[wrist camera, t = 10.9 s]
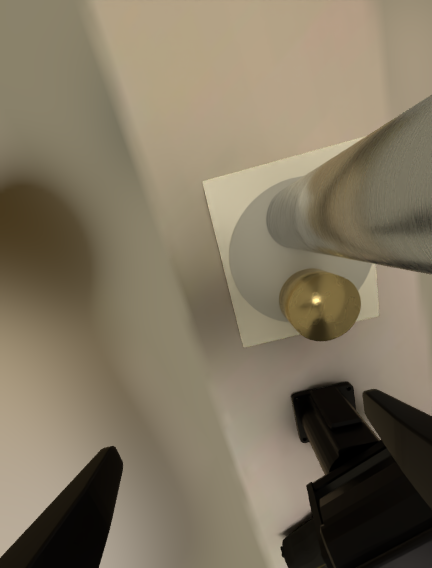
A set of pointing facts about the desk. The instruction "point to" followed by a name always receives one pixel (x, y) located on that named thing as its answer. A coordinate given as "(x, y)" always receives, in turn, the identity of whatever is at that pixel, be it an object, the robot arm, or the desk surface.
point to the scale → (272, 246)
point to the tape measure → (303, 548)
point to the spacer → (366, 199)
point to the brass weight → (319, 304)
